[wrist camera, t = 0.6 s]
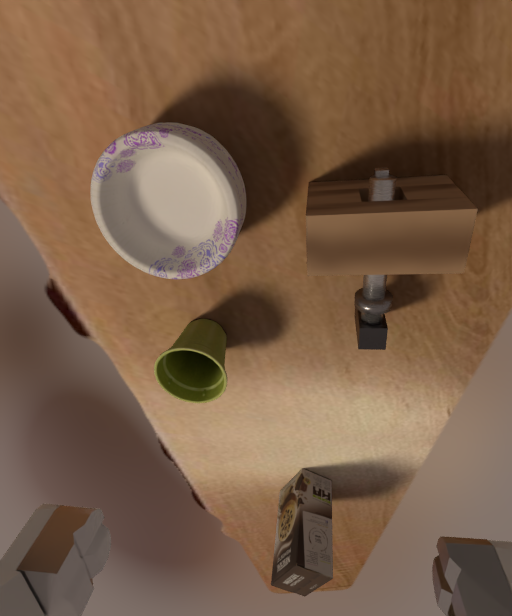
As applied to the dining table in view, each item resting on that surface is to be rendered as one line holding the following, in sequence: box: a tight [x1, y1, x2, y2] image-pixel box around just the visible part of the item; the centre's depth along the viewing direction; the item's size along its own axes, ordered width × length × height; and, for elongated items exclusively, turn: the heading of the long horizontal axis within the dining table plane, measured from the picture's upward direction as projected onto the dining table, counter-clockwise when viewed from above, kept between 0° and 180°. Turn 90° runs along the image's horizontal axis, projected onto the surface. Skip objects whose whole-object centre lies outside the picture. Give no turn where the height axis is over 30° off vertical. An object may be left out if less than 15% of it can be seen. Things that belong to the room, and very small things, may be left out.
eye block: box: [306, 175, 478, 276], centre depth 40 cm, size 6×14×10 cm, turn 96°
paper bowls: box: [91, 122, 246, 279], centre depth 42 cm, size 15×15×8 cm
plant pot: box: [154, 319, 227, 403], centre depth 54 cm, size 9×9×9 cm
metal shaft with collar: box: [355, 167, 396, 350], centre depth 43 cm, size 20×4×7 cm, turn 6°
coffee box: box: [271, 469, 333, 596], centre depth 67 cm, size 9×6×16 cm
